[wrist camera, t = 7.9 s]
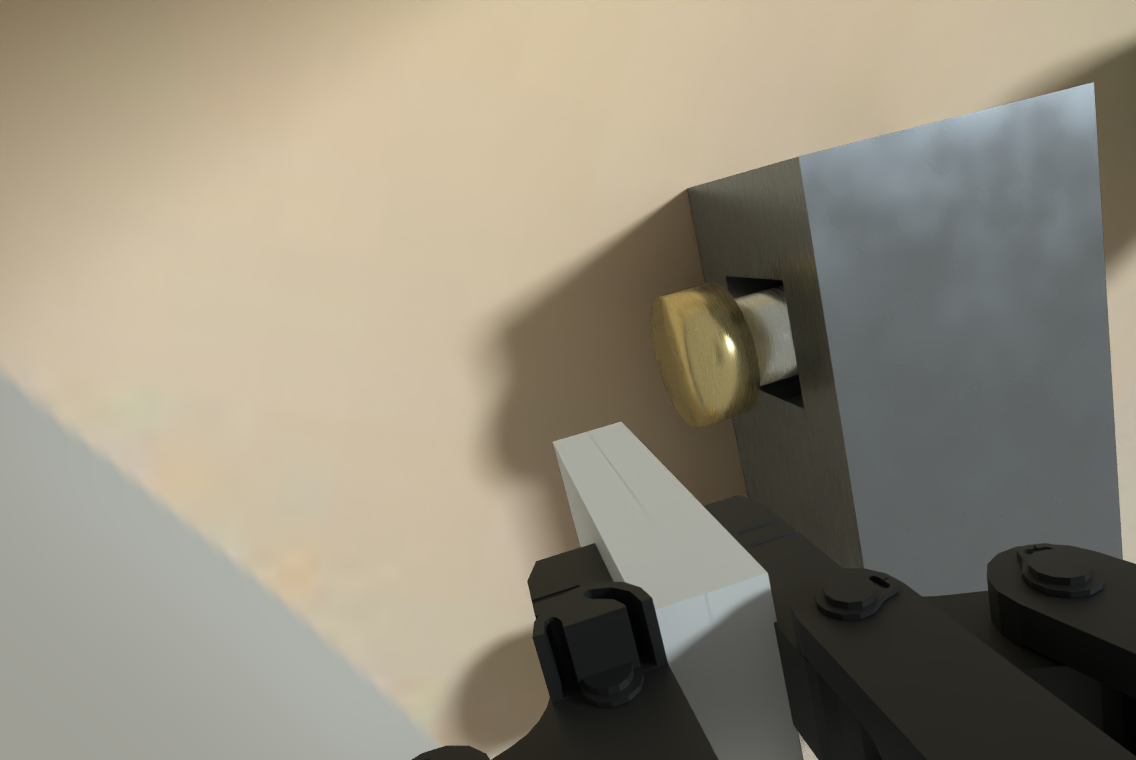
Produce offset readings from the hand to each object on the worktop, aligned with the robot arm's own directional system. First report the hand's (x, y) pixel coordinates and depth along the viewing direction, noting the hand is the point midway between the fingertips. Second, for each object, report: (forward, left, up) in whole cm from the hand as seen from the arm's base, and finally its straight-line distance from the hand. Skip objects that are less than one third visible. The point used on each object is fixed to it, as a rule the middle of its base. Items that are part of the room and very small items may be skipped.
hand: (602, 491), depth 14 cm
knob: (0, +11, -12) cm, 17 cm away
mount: (+6, +14, -14) cm, 21 cm away
